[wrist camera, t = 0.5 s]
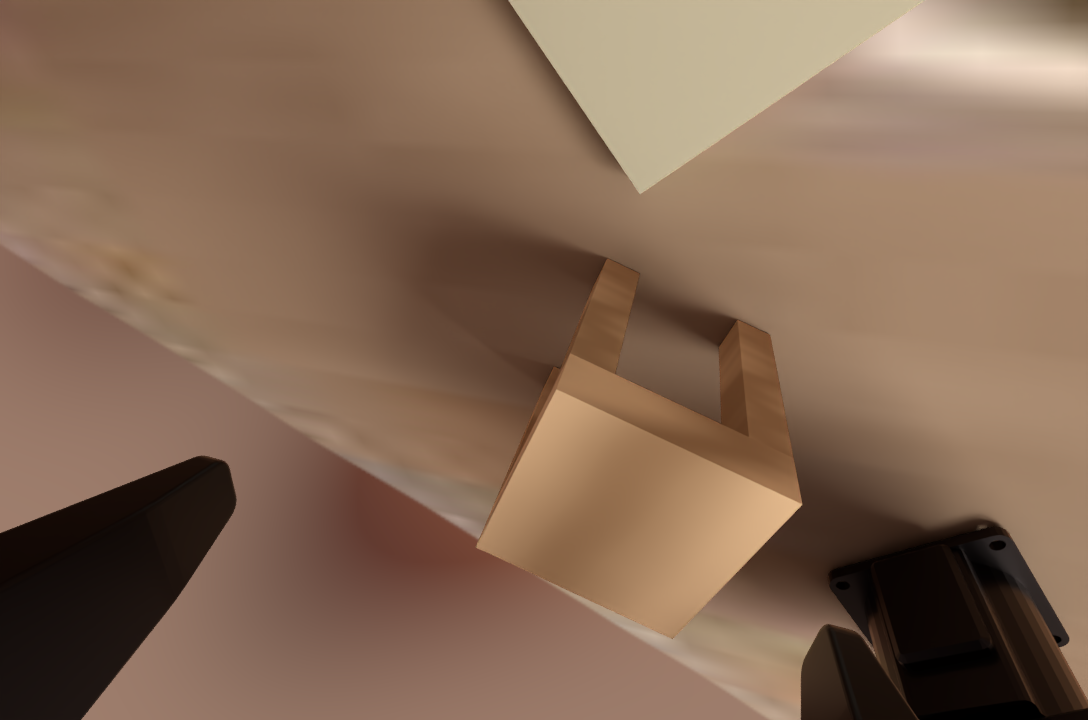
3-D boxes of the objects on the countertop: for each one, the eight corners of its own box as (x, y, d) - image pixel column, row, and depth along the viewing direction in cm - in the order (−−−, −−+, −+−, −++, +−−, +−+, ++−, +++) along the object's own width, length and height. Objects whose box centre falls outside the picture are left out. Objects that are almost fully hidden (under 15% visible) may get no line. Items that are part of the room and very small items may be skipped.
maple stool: (770, 335, 20) (802, 504, 13) (682, 454, 23) (672, 638, 16) (606, 258, 20) (556, 389, 13) (542, 389, 23) (475, 547, 16)
